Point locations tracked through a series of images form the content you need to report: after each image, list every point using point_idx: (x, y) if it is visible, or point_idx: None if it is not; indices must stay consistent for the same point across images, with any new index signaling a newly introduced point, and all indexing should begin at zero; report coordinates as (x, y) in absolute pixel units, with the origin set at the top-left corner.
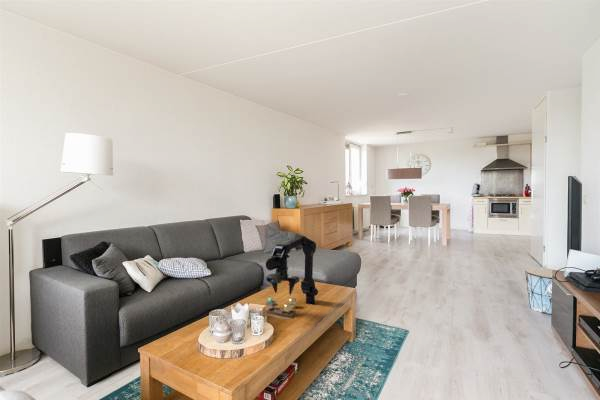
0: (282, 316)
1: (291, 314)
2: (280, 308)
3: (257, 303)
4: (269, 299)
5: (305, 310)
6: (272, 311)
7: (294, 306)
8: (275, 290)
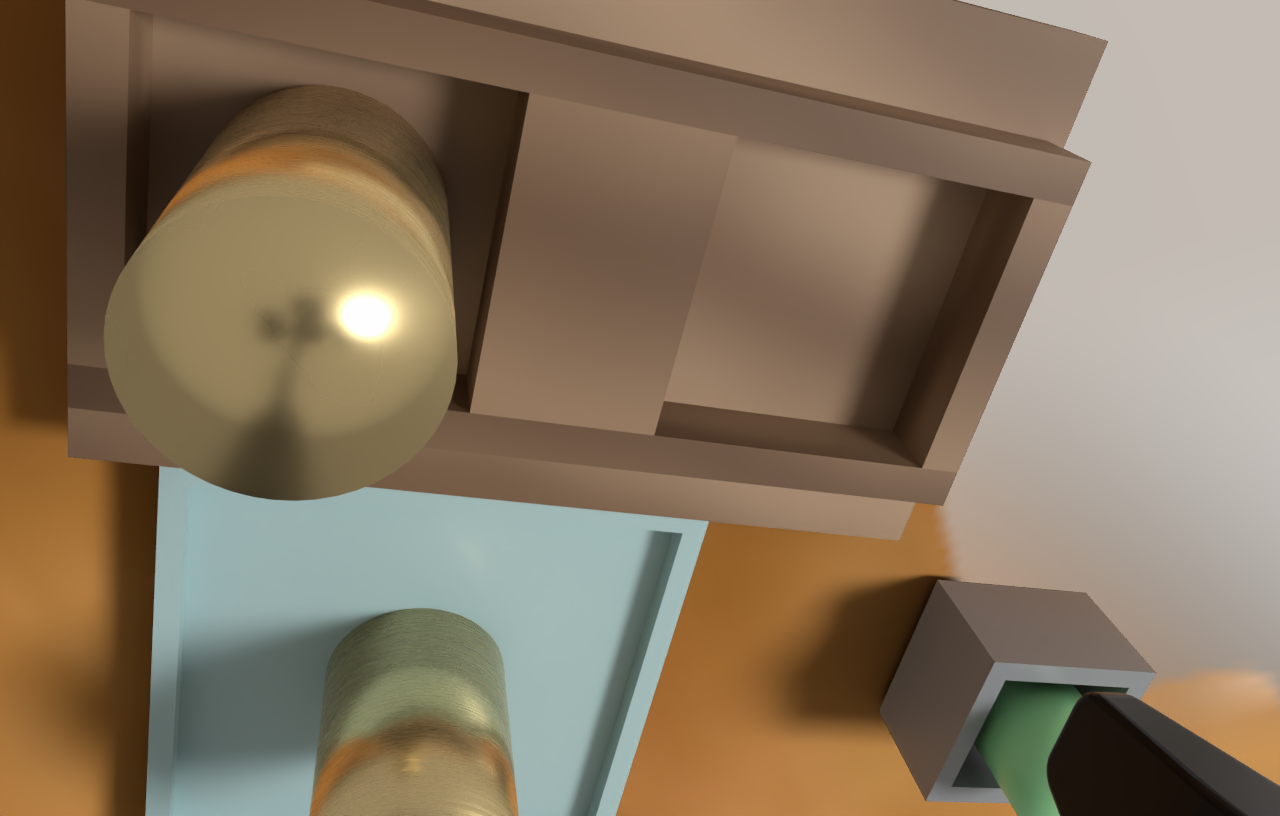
0: (444, 4)
1: (70, 48)
2: (672, 446)
3: (1276, 701)
4: None
5: (58, 709)
6: (862, 157)
7: (333, 704)
8: (1216, 797)
